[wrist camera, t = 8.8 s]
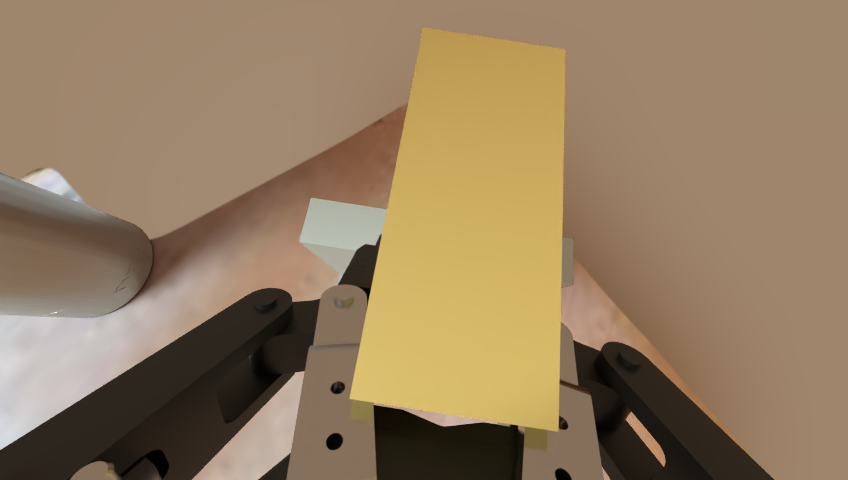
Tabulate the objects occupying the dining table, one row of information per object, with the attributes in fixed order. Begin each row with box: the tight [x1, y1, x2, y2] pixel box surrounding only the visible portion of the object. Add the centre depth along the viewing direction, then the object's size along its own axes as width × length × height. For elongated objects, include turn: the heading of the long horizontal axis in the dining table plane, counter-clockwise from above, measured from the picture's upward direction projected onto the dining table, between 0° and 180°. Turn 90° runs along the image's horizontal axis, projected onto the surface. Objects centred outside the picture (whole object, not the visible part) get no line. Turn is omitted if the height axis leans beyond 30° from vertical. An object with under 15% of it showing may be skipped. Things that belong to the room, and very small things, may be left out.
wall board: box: [299, 198, 574, 288], centre depth 24 cm, size 16×7×12 cm, turn 82°
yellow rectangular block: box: [349, 28, 566, 432], centre depth 12 cm, size 4×8×12 cm, turn 172°
